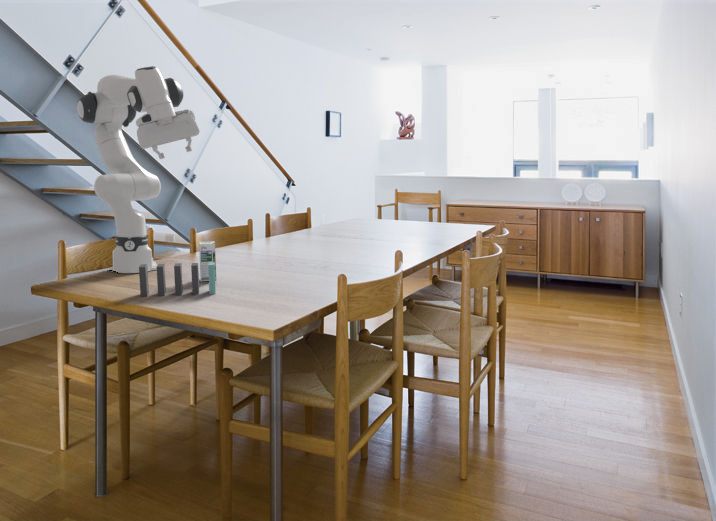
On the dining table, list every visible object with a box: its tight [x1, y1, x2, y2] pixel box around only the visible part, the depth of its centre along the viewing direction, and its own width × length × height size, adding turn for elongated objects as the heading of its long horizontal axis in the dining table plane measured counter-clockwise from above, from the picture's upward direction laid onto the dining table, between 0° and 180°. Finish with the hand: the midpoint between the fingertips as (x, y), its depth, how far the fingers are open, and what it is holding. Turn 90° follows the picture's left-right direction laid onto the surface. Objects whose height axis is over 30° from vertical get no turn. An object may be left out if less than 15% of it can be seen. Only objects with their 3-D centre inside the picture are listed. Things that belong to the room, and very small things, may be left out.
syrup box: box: [198, 241, 217, 283], centre depth 214 cm, size 6×6×14 cm
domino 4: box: [190, 262, 200, 296], centre depth 194 cm, size 2×5×10 cm, turn 13°
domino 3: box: [173, 262, 184, 296], centre depth 193 cm, size 2×5×10 cm, turn 12°
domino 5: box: [208, 262, 217, 295], centre depth 196 cm, size 2×5×10 cm, turn 12°
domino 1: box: [138, 264, 150, 298], centre depth 191 cm, size 2×5×10 cm, turn 13°
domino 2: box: [156, 263, 167, 297], centre depth 192 cm, size 2×5×10 cm, turn 12°
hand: (176, 155), depth 196 cm, fingers open, 8 cm apart
